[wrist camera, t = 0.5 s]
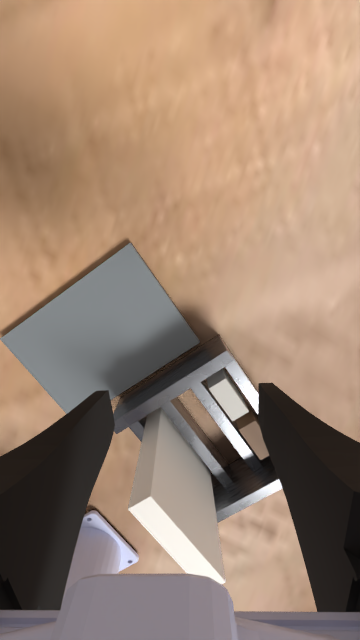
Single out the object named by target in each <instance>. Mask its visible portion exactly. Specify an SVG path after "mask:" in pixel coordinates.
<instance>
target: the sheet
mask: <svg viewBox="0 0 360 640" xmlns="http://www.w3.org/2000/svg"><path fill="white" fill-rule="evenodd" d="M128 510H129V511H130V512H131V513H132V514H133V515H134V516H135V517H136V518H137V519H138V521H139V522H140V523H141V524H142V525H143V526H144V527H145V528H146V529H147V530H148V532H149V533H150V534H151V535H152V536H153V537H154V538H155V539H156V540H157V541H158V542H159V544H160V545H161V546H162V547H163V548H164V549H165V550H166V551H167V552H168V553H169V554H170V556H171V557H172V558H173V559H174V560H175V561H176V562H177V563H178V564H179V565H180V566H181V568H182V569H183V570H184V571H185V572H186V573H187V574H195V575H201V576H207V577H210V578H211V579H213V580H215V581H216V582H218V583H220V584H223V583H225V582H226V580H225V572H224V565H223V558H222V551H221V544H220V537H219V530H218V523H217V516H216V509H215V502H214V495H213V488H212V481H211V474H210V469H209V468H208V467H207V465H206V464H205V463H204V462H203V460H202V459H201V458H200V456H199V455H198V454H197V453H196V451H195V450H194V449H193V448H192V446H191V445H190V444H189V443H188V441H187V440H186V439H185V437H184V436H183V435H182V434H181V432H180V431H179V430H178V429H177V427H176V426H175V425H174V423H173V422H172V421H171V420H170V418H169V417H168V416H167V415H166V413H165V412H164V411H163V410H162V408H161V407H159V408H158V409H156V410H155V411H153V412H151V413H150V414H148V415H147V418H146V423H145V428H144V433H143V438H142V443H141V448H140V453H139V458H138V462H137V467H136V472H135V477H134V482H133V487H132V492H131V497H130V502H129V507H128Z"/></svg>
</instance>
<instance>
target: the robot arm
mask: <svg viewBox="0 0 360 640" xmlns="http://www.w3.org/2000/svg"><path fill="white" fill-rule="evenodd" d="M258 422H259V426H260V429H261V433H262V437H263V440H264V443H265V445H266V448H267V450H268V453H269V455H270V458H271V460H272V463H273V465H274V468H275V470H276V473H277V475H278V478H279V480H280V483H281V485H282V488H283V491H284V493H285V496H286V499H287V502H288V506H289V509H290V512H291V516H292V519H293V522H294V526H295V529H296V533H297V536H298V540H299V544H300V547H301V551H302V554H303V558H304V562H305V565H306V569H307V573H308V577H309V580H310V584H311V588H312V592H313V596H314V600H315V604H316V608H317V612H241V611H234V607H233V601H232V599H231V597H230V595H229V593H228V591H227V589H226V588H225V587H224V586H223V585H221V584H220V583H218V582H216V581H215V580H213V579H211V578H210V577H207V576H201V575H195V574H118V572H119V571H121V570H123V569H125V568H127V567H129V566H130V565H132V564H134V563H136V562H137V561H138V559H139V555H138V554H137V553H136V552H135V551H134V550H133V549H132V548H131V547H130V545H129V544H128V543H127V542H126V541H125V540H124V539H123V538H122V537H121V536H120V535H119V534H118V533H117V532H116V531H115V530H114V529H113V528H112V527H111V526H110V524H109V523H108V522H107V521H106V520H105V519H104V518H103V517H102V516H101V515H100V514H99V513H98V512H97V511H95V510H92V511H90V512H88V513H87V514H85V511H86V507H87V504H88V501H89V498H90V495H91V492H92V490H93V487H94V485H95V482H96V480H97V477H98V474H99V472H100V469H101V467H102V464H103V462H104V459H105V457H106V454H107V452H108V449H109V446H110V443H111V440H112V436H113V432H114V427H115V422H114V416H113V411H112V406H111V401H110V395H109V390H101V391H95V392H94V393H92V394H91V395H90V396H89V397H87V398H86V399H85V400H84V401H82V402H81V403H80V404H79V405H77V406H76V407H75V408H74V409H72V410H71V411H70V412H69V413H67V414H66V415H65V416H64V417H62V418H61V419H59V420H58V421H57V422H55V423H54V424H53V425H51V426H50V427H49V428H47V429H46V430H44V431H43V432H41V433H40V434H38V435H37V436H35V437H34V438H32V439H31V440H29V441H27V442H26V443H24V444H22V445H21V446H19V447H17V448H15V449H14V450H12V451H10V452H8V453H6V454H4V455H3V456H1V457H0V640H360V443H359V442H357V441H355V440H353V439H351V438H349V437H348V436H346V435H344V434H342V433H341V432H339V431H337V430H335V429H334V428H332V427H330V426H329V425H327V424H326V423H324V422H323V421H321V420H320V419H318V418H317V417H315V416H314V415H312V414H311V413H309V412H308V411H307V410H305V409H304V408H303V407H301V406H300V405H299V404H297V403H296V402H295V401H294V400H292V399H291V398H290V397H289V396H288V395H286V394H285V393H284V392H283V391H281V390H280V389H279V388H278V387H277V386H275V385H274V384H273V383H259V395H258ZM84 514H85V515H84Z"/></svg>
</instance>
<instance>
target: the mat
mask: <svg viewBox="0 0 360 640" xmlns="http://www.w3.org/2000/svg"><path fill="white" fill-rule="evenodd" d="M0 340H1V341H2V342H3V343H4V344H5V345H6V346H7V347H8V349H9V350H10V351H11V352H12V353H13V354H14V355H15V356H16V358H17V359H18V360H19V361H20V362H21V363H22V364H23V365H24V367H25V368H26V369H27V370H28V371H29V372H30V373H31V374H32V376H33V377H34V378H35V379H36V380H37V381H38V382H39V383H40V385H41V386H42V387H43V388H44V389H45V390H46V391H47V392H48V394H49V395H50V396H51V397H52V398H53V399H54V400H55V401H56V403H57V404H58V405H59V406H60V407H61V408H62V409H63V410H64V412H65V413H66V414H67V413H69V412H70V411H71V410H72V409H74V408H75V407H76V406H77V405H79V404H80V403H81V402H82V401H84V400H85V399H86V398H87V397H89V396H90V395H91V394H92V393H94V392H95V391H101V390H109V395H110V400H112V399H113V398H115V397H116V396H118V395H119V394H121V393H122V392H124V391H126V390H127V389H129V388H130V387H132V386H133V385H135V384H136V383H138V382H139V381H141V380H143V379H144V378H146V377H147V376H149V375H150V374H152V373H153V372H155V371H156V370H158V369H160V368H161V367H163V366H164V365H166V364H167V363H169V362H170V361H172V360H173V359H175V358H177V357H178V356H180V355H181V354H183V353H184V352H186V351H187V350H189V349H191V348H192V347H194V346H195V345H197V344H198V343H200V340H199V339H198V338H197V336H196V335H195V333H194V332H193V330H192V329H191V328H190V326H189V325H188V323H187V322H186V320H185V319H184V318H183V316H182V315H181V313H180V312H179V310H178V309H177V308H176V306H175V305H174V303H173V302H172V300H171V299H170V298H169V296H168V295H167V293H166V292H165V290H164V289H163V288H162V286H161V285H160V283H159V282H158V281H157V279H156V278H155V276H154V275H153V273H152V272H151V271H150V269H149V268H148V266H147V265H146V263H145V262H144V261H143V259H142V258H141V256H140V255H139V253H138V252H137V251H136V249H135V248H134V246H133V245H132V243H129V244H128V245H126V246H125V247H124V248H122V249H121V250H120V251H118V252H117V253H116V254H114V255H113V256H112V257H110V258H109V259H108V260H106V261H105V262H103V263H102V264H101V265H99V266H98V267H97V268H95V269H94V270H93V271H91V272H90V273H89V274H87V275H86V276H84V277H83V278H82V279H80V280H79V281H78V282H76V283H75V284H74V285H72V286H71V287H70V288H68V289H67V290H65V291H64V292H63V293H61V294H60V295H59V296H57V297H56V298H55V299H53V300H52V301H51V302H49V303H48V304H47V305H45V306H44V307H42V308H41V309H40V310H38V311H37V312H36V313H34V314H33V315H32V316H30V317H29V318H28V319H26V320H25V321H23V322H22V323H21V324H19V325H18V326H17V327H15V328H14V329H13V330H11V331H10V332H9V333H7V334H6V335H5V336H3V337H2V338H0Z"/></svg>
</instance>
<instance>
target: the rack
mask: <svg viewBox="0 0 360 640" xmlns="http://www.w3.org/2000/svg"><path fill="white" fill-rule="evenodd" d="M224 367H225V368H226V369H227V371H228V372H229V373H230V375H231V376H232V378H233V379H234V381H235V382H236V384H237V385H238V386H239V388H240V389H241V391H242V392H243V394H244V395H245V396H246V398H247V399H248V401H249V402H250V404H251V405H252V407H253V408H254V409H255V411H256V412H257V414H258V395H259V393H258V391H257V390H256V388H255V387H254V385H253V384H252V382H251V381H250V379H249V378H248V377H247V375H246V374H245V372H244V371H243V369H242V368H241V366H240V365H239V363H238V362H237V360H236V359H235V357H234V356H233V354H232V353H231V352H230V350H229V349H228V347H227V346H226V344H225V343H224V341H223V340H222V338H221V337H220V335H217V336H216V337H214V338H213V339H211V340H210V341H208V342H207V343H205V344H203V345H202V346H200V347H199V348H197V349H196V350H194V351H193V352H191V353H190V354H188V355H186V356H185V357H183V358H182V359H180V360H179V361H177V362H176V363H174V364H172V365H171V366H169V367H168V368H166V369H165V370H163V371H162V372H160V373H158V374H157V375H155V376H154V377H152V378H151V379H149V380H148V381H146V382H144V383H143V384H141V385H140V386H138V387H137V388H135V389H134V390H132V391H130V392H129V393H127V394H126V395H124V396H123V397H121V398H120V400H119V402H118V404H117V407H116V409H115V412H114V414H113V416H114V422H115V427H114V432H115V433H116V434H118V433H119V432H121V431H122V430H124V429H126V428H127V427H129V428H130V429H131V430H132V431H133V432H134V434H135V435H136V436H137V437H138V438H139V440H140V441H141V442H142V438H143V433H144V428H145V423H146V418H147V415H148V414H150V413H151V412H153V411H155V410H156V409H158V408H159V407H161V408H162V410H163V411H164V412H165V413H166V415H167V416H168V417H169V418H170V420H171V421H172V422H173V423H174V425H175V426H176V427H177V429H178V430H179V431H180V432H181V434H182V435H183V436H184V437H185V439H186V440H187V441H188V443H189V444H190V445H191V446H192V448H193V449H194V450H195V451H196V453H197V454H198V455H199V456H200V458H201V459H202V460H203V462H204V463H205V464H206V465H207V467H208V468H209V469H210V470H211V472H212V473H213V474H212V475H211V481H212V488H213V495H214V502H215V509H216V516H217V523H218V522H220V521H222V520H224V519H226V518H227V517H229V516H231V515H233V514H235V513H237V512H239V511H241V510H243V509H244V508H246V507H248V506H250V505H252V504H254V503H256V502H258V501H259V500H261V499H263V498H265V497H267V496H269V495H271V494H273V493H275V492H276V491H278V490H280V489H282V485H281V483H280V480H279V478H278V475H277V473H276V470H275V468H274V465H273V463H272V460H271V458H270V455H269V456H267V457H265V458H264V459H262V460H260V459H259V457H258V456H257V455H256V453H255V452H254V450H253V449H252V448H251V446H250V445H249V444H248V442H247V441H246V439H245V438H244V437H243V435H242V434H241V433H240V431H239V429H238V427H237V424H236V422H235V421H232V420H231V419H230V417H229V416H228V415H227V413H226V412H225V411H224V409H223V408H222V406H221V405H220V404H219V402H218V401H217V400H216V398H215V397H214V395H213V394H212V393H211V391H210V390H209V388H208V384H207V382H206V381H205V380H204V379H206V378H208V377H209V376H211V375H213V374H214V373H216V372H217V371H219V370H221V369H222V368H224ZM190 388H191V389H192V391H193V392H194V393H195V395H196V396H197V398H198V399H199V400H200V402H201V403H202V404H203V406H204V407H205V408H206V410H207V411H208V412H209V414H210V415H211V416H212V418H213V419H214V420H215V422H216V423H217V424H218V426H219V427H220V428H221V430H222V431H223V432H224V434H225V435H226V437H227V438H228V439H229V441H230V442H231V443H232V445H233V446H234V447H235V449H236V450H237V451H238V453H239V454H240V455H241V457H242V458H240V459H238V460H237V461H235V462H233V463H231V464H229V465H228V463H227V462H226V461H225V460H224V458H223V457H222V456H221V454H220V453H219V452H218V450H217V449H216V448H215V446H214V445H213V444H212V443H211V441H210V440H209V439H208V437H207V436H206V435H205V433H204V432H203V431H202V429H201V428H200V427H199V426H198V424H197V423H196V422H195V420H194V419H193V418H192V416H191V415H190V414H189V412H188V411H187V410H186V409H185V407H184V406H183V405H182V403H181V402H180V401H179V399H178V398H177V396H179V395H180V394H182V393H184V392H185V391H187V390H188V389H190Z"/></svg>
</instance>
